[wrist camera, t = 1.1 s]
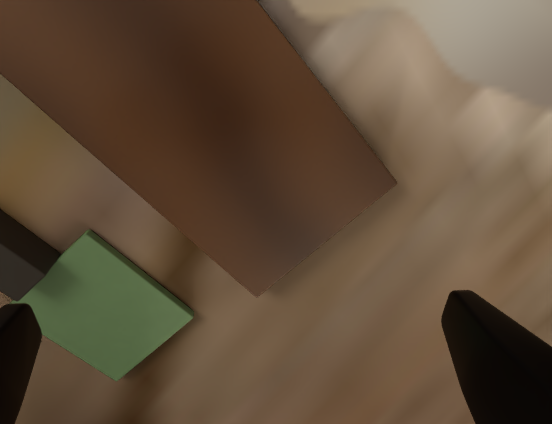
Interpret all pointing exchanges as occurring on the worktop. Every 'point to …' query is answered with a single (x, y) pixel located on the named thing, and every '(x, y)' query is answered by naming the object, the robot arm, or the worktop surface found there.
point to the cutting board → (200, 121)
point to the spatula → (89, 298)
